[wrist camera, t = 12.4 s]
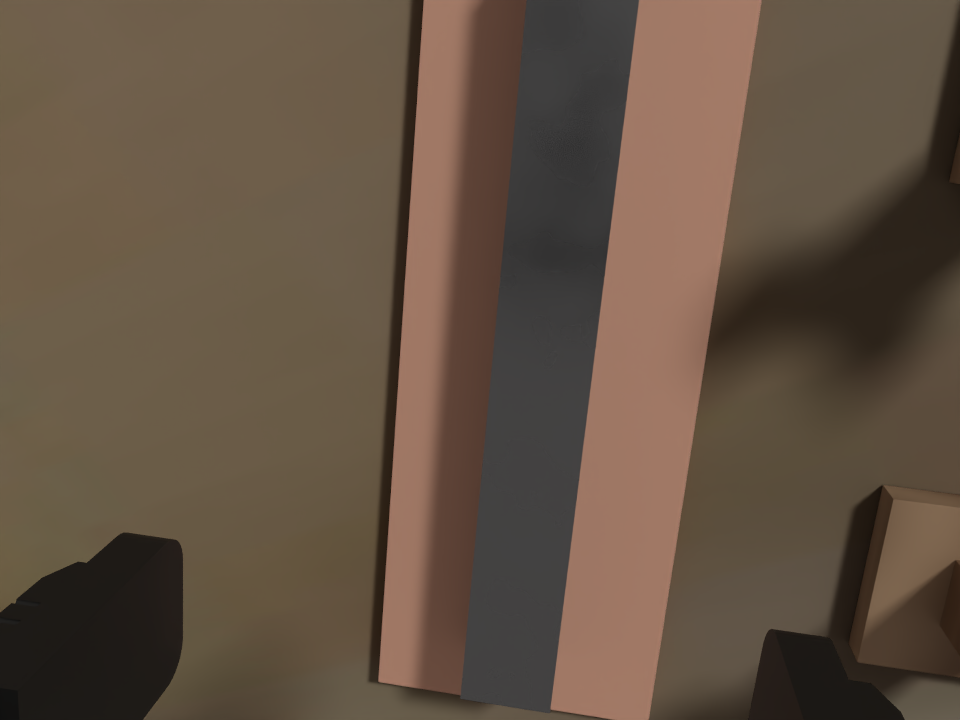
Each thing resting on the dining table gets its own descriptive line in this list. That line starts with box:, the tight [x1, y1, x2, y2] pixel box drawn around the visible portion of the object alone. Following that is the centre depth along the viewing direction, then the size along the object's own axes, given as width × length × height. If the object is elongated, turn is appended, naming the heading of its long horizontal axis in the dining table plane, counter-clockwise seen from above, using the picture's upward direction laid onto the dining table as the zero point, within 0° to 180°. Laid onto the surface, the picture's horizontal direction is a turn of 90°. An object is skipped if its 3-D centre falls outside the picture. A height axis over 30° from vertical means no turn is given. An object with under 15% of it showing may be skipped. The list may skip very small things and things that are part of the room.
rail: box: [460, 0, 639, 713], centre depth 29 cm, size 3×24×3 cm, turn 175°
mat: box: [378, 0, 762, 720], centre depth 31 cm, size 10×28×1 cm, turn 175°
